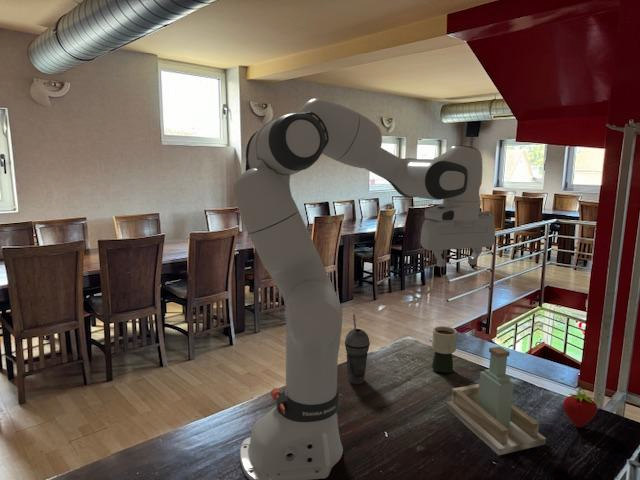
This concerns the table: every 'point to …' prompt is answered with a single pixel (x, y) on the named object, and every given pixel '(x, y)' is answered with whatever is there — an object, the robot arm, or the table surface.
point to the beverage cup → (356, 354)
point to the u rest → (494, 423)
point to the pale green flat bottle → (496, 387)
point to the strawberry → (580, 408)
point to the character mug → (443, 348)
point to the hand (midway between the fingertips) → (456, 265)
